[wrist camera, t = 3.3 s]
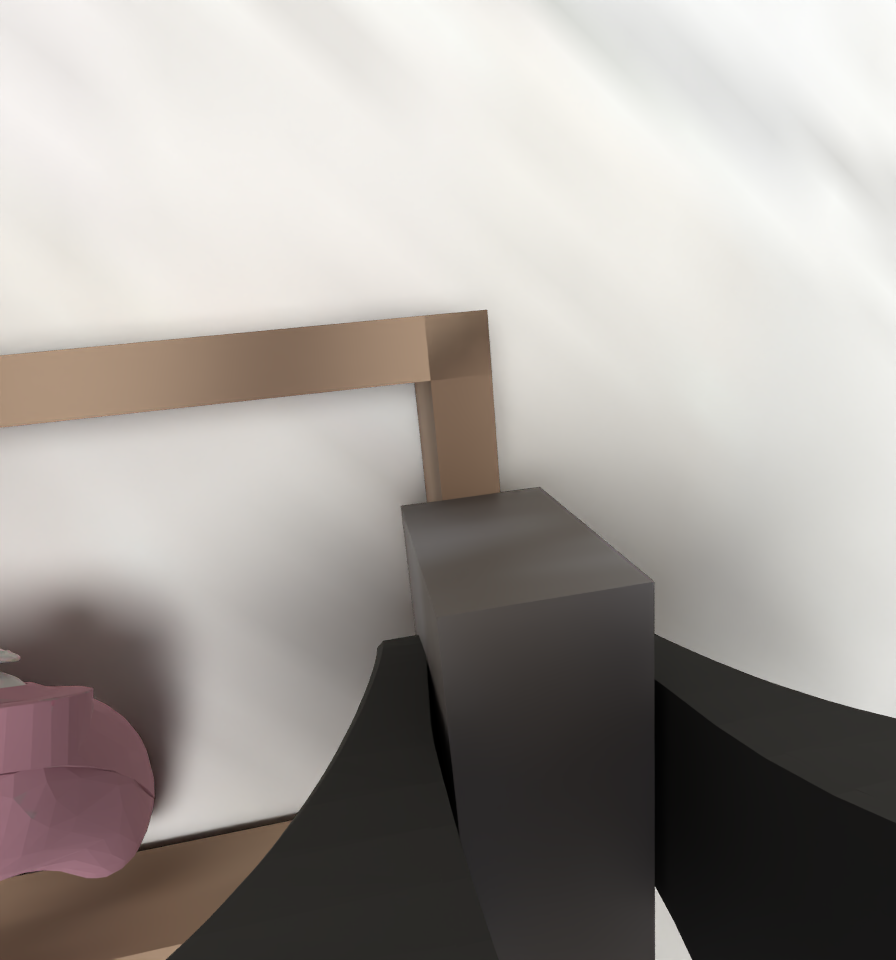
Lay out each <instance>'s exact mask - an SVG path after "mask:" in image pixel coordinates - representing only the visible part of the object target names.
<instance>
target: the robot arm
mask: <svg viewBox="0 0 896 960" xmlns="http://www.w3.org/2000/svg"><path fill="white" fill-rule="evenodd" d="M654 754H655V887H656V889H657V890H658V892H659V894H660V896H661V898H662V900H663V902H664V903H665V905H666V907H667V909H668V911H669V913H670V915H671V916H672V918H673V920H674V922H675V924H676V926H677V929H678V931H679V933H680V935H681V937H682V939H683V941H684V943H685V945H686V948H687V950H688V952H689V954H690V956H691V958H692V960H896V718H892V717H888V716H884V715H880V714H876V713H872V712H868V711H864V710H860V709H856V708H852V707H848V706H845V705H841V704H838V703H834V702H830V701H827V700H824V699H820V698H817V697H814V696H811V695H808V694H805V693H802V692H799V691H795V690H792V689H789V688H786V687H783V686H780V685H777V684H774V683H771V682H768V681H765V680H763V679H760V678H757V677H754V676H752V675H749V674H747V673H744V672H741V671H739V670H736V669H734V668H731V667H729V666H726V665H724V664H721V663H719V662H716V661H714V660H711V659H709V658H707V657H704V656H702V655H700V654H697V653H695V652H693V651H691V650H688V649H686V648H684V647H682V646H679V645H677V644H675V643H673V642H671V641H668V640H666V639H664V638H662V637H660V636H658V635H656V634H654ZM166 960H499V959H498V956H497V953H496V950H495V948H494V945H493V942H492V939H491V936H490V933H489V930H488V927H487V924H486V921H485V918H484V915H483V912H482V909H481V906H480V902H479V899H478V896H477V893H476V890H475V887H474V884H473V881H472V878H471V875H470V871H469V868H468V865H467V861H466V858H465V855H464V851H463V848H462V845H461V841H460V838H459V835H458V831H457V828H456V824H455V821H454V817H453V814H452V810H451V806H450V803H449V799H448V795H447V792H446V788H445V784H444V781H443V777H442V773H441V769H440V765H439V761H438V757H437V749H436V740H435V731H434V723H433V714H432V705H431V696H430V687H429V678H428V669H427V661H426V654H425V651H424V648H423V645H422V642H421V640H420V637H419V635H415V636H409V637H403V638H397V639H391V640H385V641H383V642H382V643H381V644H380V646H379V647H378V648H377V656H376V661H375V665H374V668H373V671H372V674H371V677H370V680H369V683H368V686H367V688H366V691H365V693H364V696H363V698H362V700H361V703H360V705H359V708H358V710H357V712H356V715H355V717H354V719H353V721H352V723H351V725H350V727H349V729H348V731H347V733H346V735H345V737H344V739H343V740H342V742H341V744H340V746H339V748H338V750H337V752H336V754H335V756H334V757H333V759H332V761H331V763H330V764H329V766H328V768H327V769H326V771H325V773H324V774H323V776H322V778H321V779H320V781H319V782H318V784H317V785H316V787H315V788H314V790H313V792H312V793H311V795H310V796H309V798H308V799H307V801H306V802H305V804H304V805H303V806H302V808H301V809H300V811H299V812H298V813H297V815H296V816H295V817H294V819H293V820H292V821H291V823H290V824H289V825H288V827H287V828H286V829H285V831H284V832H283V833H282V835H281V836H280V837H279V839H278V840H277V841H276V843H275V844H274V845H273V846H272V848H271V849H270V850H269V851H268V853H267V854H266V855H265V856H264V858H263V859H262V860H261V861H260V862H259V864H258V865H257V866H256V867H255V868H254V869H253V871H252V872H251V873H250V874H249V875H248V876H247V877H246V878H245V879H244V881H243V882H242V883H241V884H240V885H239V886H238V887H237V888H236V889H235V891H234V892H233V893H232V894H231V895H230V896H229V897H228V898H227V899H226V900H225V902H224V903H223V904H222V905H221V906H220V907H219V908H218V909H217V910H216V911H215V912H214V913H213V914H212V915H211V917H210V918H209V919H208V920H207V921H206V922H205V923H204V924H203V925H202V926H201V927H200V928H199V929H198V930H197V931H195V932H194V933H193V934H192V935H191V936H190V937H189V938H188V939H187V940H186V941H185V942H184V943H183V944H182V945H181V946H180V947H179V948H178V949H176V950H175V951H174V952H173V953H172V954H171V955H170V956H169V957H168V958H167V959H166Z"/></svg>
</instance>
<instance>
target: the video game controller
mask: <svg viewBox="0 0 896 960" xmlns="http://www.w3.org/2000/svg"><path fill="white" fill-rule="evenodd" d="M20 659H21V657H20V656H19V655H18V654H15V653H12V652H11V651H10V650H3V649H1V648H0V663H8V662H16V661H19V660H20ZM154 799H155V791H154V776H153V772H152V769H151V765H150V761H149V757H148V753H147V750H146V748H145V746H144V743H143V741H142V739H141V737H140V736H139V734H138V733H137V732H136V731H135V729H134V728H133V727H132V726H131V724H130V723H129V722H128V721H127V720H126V718H125V717H123V716H122V715H121V714H119V713H118V712H117V711H115V710H114V709H112V708H111V707H110V706H108V705H107V704H105V703H103V702H101V701H99V700H96V699H94V698H93V688H92V687H86V686H44V685H41V684H37V683H34V682H23V681H21V680H20V679H19V678H17V677H15V676H13V675H10V674H7V673H4V672H1V671H0V881H2V880H4V879H7V878H10V877H13V876H16V875H19V874H22V873H25V872H34V871H43V870H47V871H62V872H65V873H69V874H73V875H77V876H80V877H84V878H102V877H107V876H109V875H111V874H113V873H115V872H117V871H119V870H120V869H122V868H123V867H124V866H125V865H126V864H127V863H128V862H129V861H130V860H131V859H132V858H133V857H134V856H135V854H136V852H137V851H138V849H139V847H140V845H141V842H142V840H143V838H144V836H145V834H146V831H147V829H148V825H149V822H150V818H151V814H152V810H153V805H154Z"/></svg>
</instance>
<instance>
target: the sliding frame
mask: <svg viewBox="0 0 896 960" xmlns="http://www.w3.org/2000/svg"><path fill="white" fill-rule="evenodd" d="M413 382H414V383H415V392H416V402H417V411H418V421H419V430H420V440H421V449H422V459H423V469H424V478H425V488H426V497H427V503H419V504H412V505H405V506H401V512H402V520H403V529H404V537H405V546H406V554H407V563H408V572H409V580H410V589H411V597H412V606H413V614H414V623H415V632H416V635H419V637H420V640H421V642H422V645H423V648H424V651H425V654H426V661H427V669H428V678H429V687H430V696H431V705H432V714H433V723H434V731H435V740H436V749H437V757H438V761H439V765H440V769H441V773H442V777H443V781H444V784H445V788H446V792H447V795H448V799H449V803H450V806H451V810H452V814H453V817H454V821H455V824H456V828H457V831H458V835H459V838H460V841H461V845H462V848H463V851H464V855H465V858H466V861H467V865H468V868H469V871H470V875H471V878H472V881H473V884H474V887H475V890H476V893H477V896H478V899H479V902H480V906H481V909H482V912H483V915H484V918H485V921H486V924H487V927H488V930H489V933H490V936H491V939H492V942H493V945H494V948H495V950H496V953H497V956H498V959H499V960H655V754H654V581H653V580H652V579H651V578H649V577H648V576H647V575H646V574H644V573H643V572H642V571H641V570H640V569H638V568H637V567H636V566H635V565H634V564H632V563H631V562H630V561H629V560H628V559H626V558H625V557H624V556H623V555H621V554H620V553H619V552H618V551H617V550H615V549H614V548H613V547H612V546H611V545H609V544H608V543H607V542H606V541H605V540H603V539H602V538H601V537H600V536H598V535H597V534H596V533H595V532H594V531H592V530H591V529H590V528H589V527H588V526H586V525H585V524H584V523H583V522H582V521H580V520H579V519H578V518H577V517H575V516H574V515H573V514H572V513H571V512H569V511H568V510H567V509H566V508H565V507H563V506H562V505H561V504H560V503H559V502H557V501H556V500H555V499H554V498H552V497H551V496H550V495H549V494H548V493H546V492H545V491H544V490H543V489H542V488H540V487H536V488H529V489H522V490H514V491H507V492H500V483H499V469H498V455H497V441H496V427H495V413H494V399H493V384H492V370H491V356H490V342H489V328H488V314H487V310H480V311H469V312H458V313H448V314H437V315H426V316H416V317H405V318H395V319H384V320H373V321H363V322H352V323H341V324H331V325H320V326H309V327H299V328H288V329H278V330H267V331H256V332H246V333H235V334H224V335H214V336H203V337H192V338H182V339H171V340H161V341H150V342H139V343H129V344H118V345H107V346H97V347H86V348H75V349H65V350H54V351H44V352H33V353H22V354H12V355H1V356H0V428H1V427H10V426H19V425H28V424H37V423H47V422H56V421H65V420H74V419H83V418H92V417H102V416H111V415H120V414H129V413H138V412H147V411H157V410H166V409H175V408H184V407H193V406H202V405H212V404H221V403H230V402H239V401H248V400H257V399H267V398H276V397H285V396H294V395H303V394H312V393H322V392H331V391H340V390H349V389H358V388H367V387H377V386H386V385H395V384H404V383H413ZM291 821H292V820H291ZM291 821H286V822H281V823H276V824H271V825H267V826H262V827H257V828H252V829H247V830H242V831H237V832H232V833H227V834H222V835H217V836H213V837H208V838H203V839H198V840H193V841H188V842H183V843H178V844H173V845H168V846H163V847H158V848H154V849H149V850H144V851H139V852H136V854H135V856H134V857H133V858H132V859H131V860H130V861H129V862H128V863H127V864H126V865H125V866H124V867H123V868H122V869H120V870H119V871H117V872H115V873H113V874H111V875H109V876H107V877H102V878H84V877H80V876H77V875H73V874H69V873H65V872H62V871H47V870H45V871H41V872H36V873H31V874H26V875H21V876H16V877H11V878H7V879H4V880H2V881H0V960H166V959H167V958H168V957H169V956H170V955H171V954H172V953H173V952H174V951H175V950H176V949H178V948H179V947H180V946H181V945H182V944H183V943H184V942H185V941H186V940H187V939H188V938H189V937H190V936H191V935H192V934H193V933H194V932H195V931H197V930H198V929H199V928H200V927H201V926H202V925H203V924H204V923H205V922H206V921H207V920H208V919H209V918H210V917H211V915H212V914H213V913H214V912H215V911H216V910H217V909H218V908H219V907H220V906H221V905H222V904H223V903H224V902H225V900H226V899H227V898H228V897H229V896H230V895H231V894H232V893H233V892H234V891H235V889H236V888H237V887H238V886H239V885H240V884H241V883H242V882H243V881H244V879H245V878H246V877H247V876H248V875H249V874H250V873H251V872H252V871H253V869H254V868H255V867H256V866H257V865H258V864H259V862H260V861H261V860H262V859H263V858H264V856H265V855H266V854H267V853H268V851H269V850H270V849H271V848H272V846H273V845H274V844H275V843H276V841H277V840H278V839H279V837H280V836H281V835H282V833H283V832H284V831H285V829H286V828H287V827H288V825H289V824H290V823H291Z"/></svg>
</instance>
